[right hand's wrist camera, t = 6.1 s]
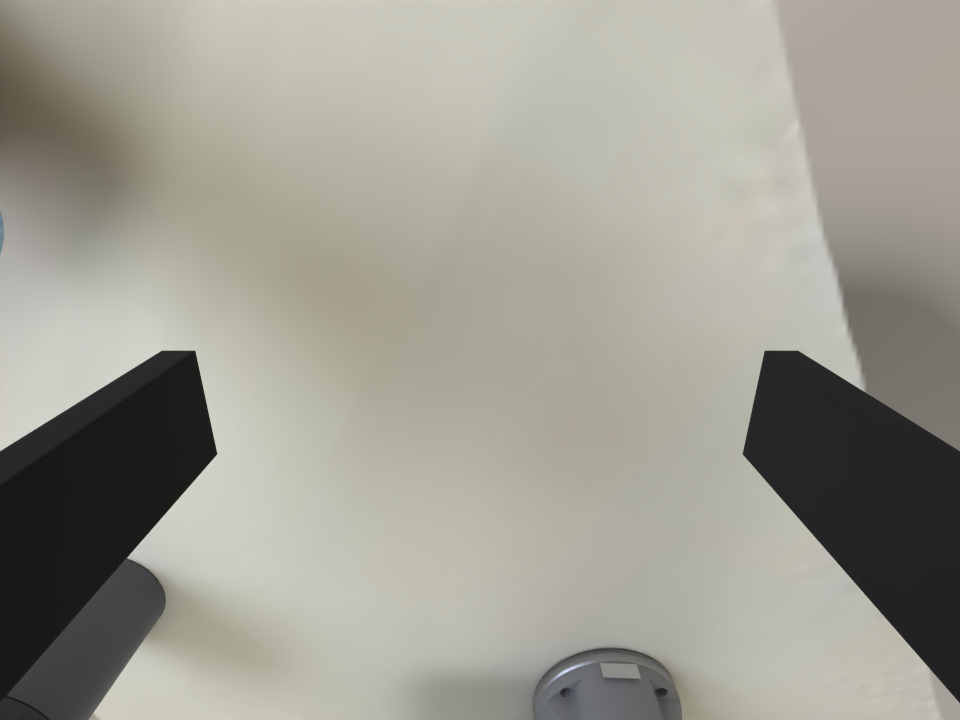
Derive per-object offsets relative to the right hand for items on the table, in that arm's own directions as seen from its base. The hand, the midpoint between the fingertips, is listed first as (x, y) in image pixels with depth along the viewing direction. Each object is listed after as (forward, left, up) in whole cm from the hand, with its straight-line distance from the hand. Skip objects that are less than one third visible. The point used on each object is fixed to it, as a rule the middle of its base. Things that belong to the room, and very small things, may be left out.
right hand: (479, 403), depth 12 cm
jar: (-34, +35, -28) cm, 57 cm away
